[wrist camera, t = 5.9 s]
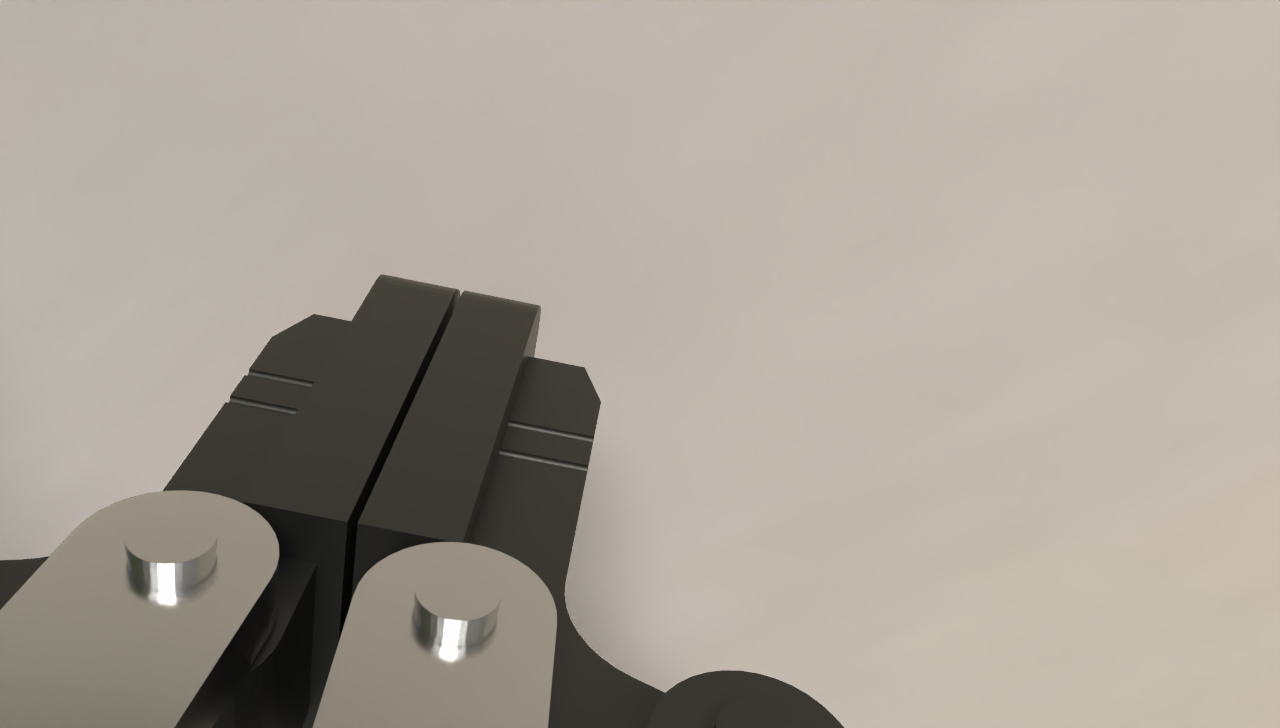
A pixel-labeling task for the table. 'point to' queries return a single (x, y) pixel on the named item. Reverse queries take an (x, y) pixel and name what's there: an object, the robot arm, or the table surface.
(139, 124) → the table surface
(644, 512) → the table surface
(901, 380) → the table surface
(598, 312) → the table surface
